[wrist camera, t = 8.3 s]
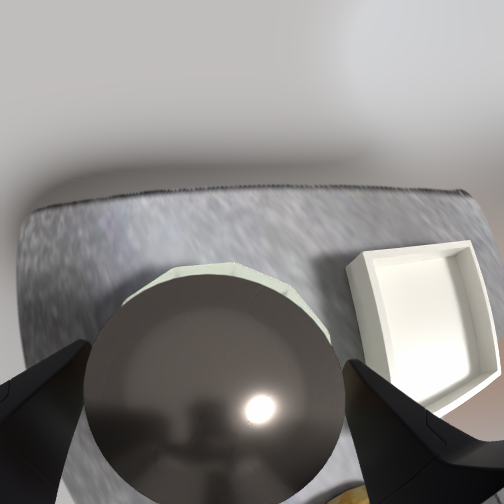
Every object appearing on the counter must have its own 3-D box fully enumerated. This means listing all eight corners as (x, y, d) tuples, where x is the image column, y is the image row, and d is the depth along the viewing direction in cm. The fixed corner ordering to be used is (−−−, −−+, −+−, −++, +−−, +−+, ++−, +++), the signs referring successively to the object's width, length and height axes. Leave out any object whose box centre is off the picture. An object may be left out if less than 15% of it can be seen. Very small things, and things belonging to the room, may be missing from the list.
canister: (277, 391, 16) (385, 424, 5) (204, 434, 14) (180, 544, 3) (230, 322, 17) (253, 231, 6) (158, 363, 16) (47, 344, 5)
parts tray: (479, 377, 18) (501, 374, 15) (374, 433, 15) (397, 439, 13) (451, 253, 23) (470, 240, 20) (345, 267, 21) (362, 251, 18)
